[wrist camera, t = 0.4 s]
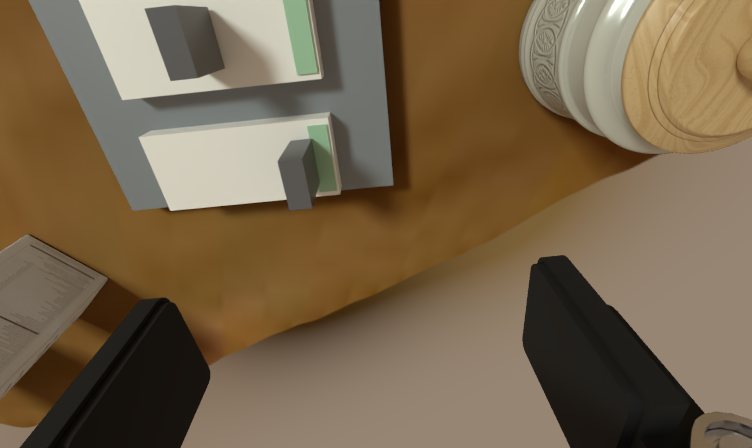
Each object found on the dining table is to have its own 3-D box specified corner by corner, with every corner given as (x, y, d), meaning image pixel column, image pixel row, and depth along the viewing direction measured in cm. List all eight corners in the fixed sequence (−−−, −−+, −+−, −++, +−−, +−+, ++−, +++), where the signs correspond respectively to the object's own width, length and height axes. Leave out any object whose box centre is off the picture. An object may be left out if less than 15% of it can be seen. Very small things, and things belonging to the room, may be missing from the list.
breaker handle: (290, 140, 30) (277, 161, 26) (311, 138, 30) (302, 159, 26) (299, 184, 32) (289, 210, 28) (319, 182, 32) (312, 208, 28)
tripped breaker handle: (182, 9, 25) (144, 8, 21) (207, 7, 25) (174, 5, 21) (201, 70, 27) (170, 81, 23) (225, 68, 27) (198, 78, 23)
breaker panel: (52, -2, 29) (0, -5, 25) (374, -39, 28) (376, -49, 24) (146, 199, 38) (119, 221, 34) (392, 175, 37) (394, 195, 33)
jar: (596, -100, 26) (908, -259, 11) (703, 5, 30) (1052, -6, 15) (483, 65, 32) (590, 109, 17) (585, 138, 35) (750, 229, 20)
